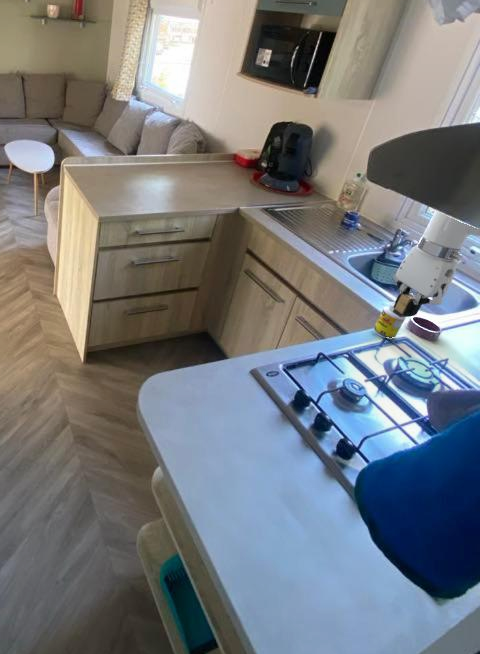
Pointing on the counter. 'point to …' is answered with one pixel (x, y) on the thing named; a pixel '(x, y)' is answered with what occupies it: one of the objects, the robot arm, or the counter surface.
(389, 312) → the supplement bottle
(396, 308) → the brown wooden block
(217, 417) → the counter surface
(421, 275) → the robot arm
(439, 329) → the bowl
